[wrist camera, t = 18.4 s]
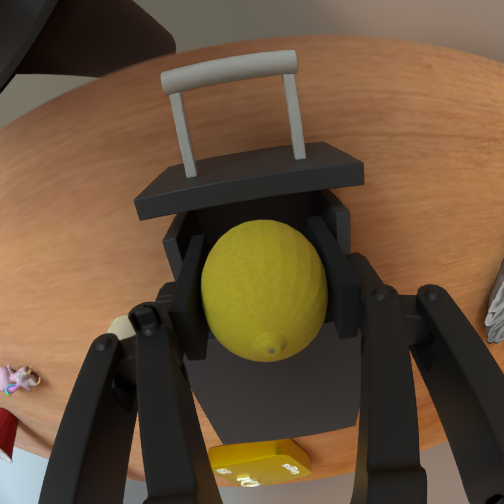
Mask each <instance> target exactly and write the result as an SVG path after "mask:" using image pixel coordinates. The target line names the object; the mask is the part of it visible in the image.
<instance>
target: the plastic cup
mask: <svg viewBox="0 0 504 504" xmlns="http://www.w3.org/2000/svg"><path fill="white" fill-rule="evenodd" d="M17 426H18V419H17V418H16V417H15V416H14V415H13V414H11V413H10V412H9V411H7V410H6V409H4V408H0V458H1V459H3V460H5V461H7V462H9V463H12V453H13V446H14V442H15V437H16V431H17Z"/></svg>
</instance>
